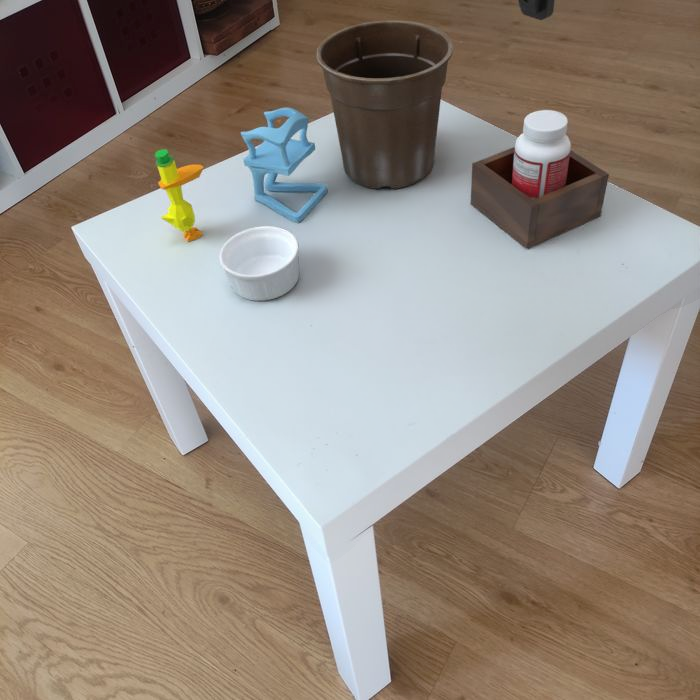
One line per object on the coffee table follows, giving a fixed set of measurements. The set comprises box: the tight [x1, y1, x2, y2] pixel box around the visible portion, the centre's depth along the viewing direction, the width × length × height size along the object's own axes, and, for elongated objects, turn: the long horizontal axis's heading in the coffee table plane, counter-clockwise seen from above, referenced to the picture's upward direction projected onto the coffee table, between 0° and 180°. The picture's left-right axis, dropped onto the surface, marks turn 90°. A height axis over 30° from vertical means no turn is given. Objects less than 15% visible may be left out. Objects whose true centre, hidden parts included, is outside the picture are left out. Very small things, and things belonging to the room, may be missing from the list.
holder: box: [470, 146, 610, 250], centre depth 86 cm, size 11×11×6 cm
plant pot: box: [316, 20, 454, 190], centre depth 91 cm, size 16×16×16 cm
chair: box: [240, 107, 329, 223], centre depth 89 cm, size 8×8×12 cm
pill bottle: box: [512, 109, 572, 200], centre depth 83 cm, size 6×6×11 cm
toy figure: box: [154, 148, 204, 243], centre depth 86 cm, size 7×4×12 cm, turn 125°
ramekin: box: [218, 225, 300, 302], centre depth 81 cm, size 9×9×4 cm
